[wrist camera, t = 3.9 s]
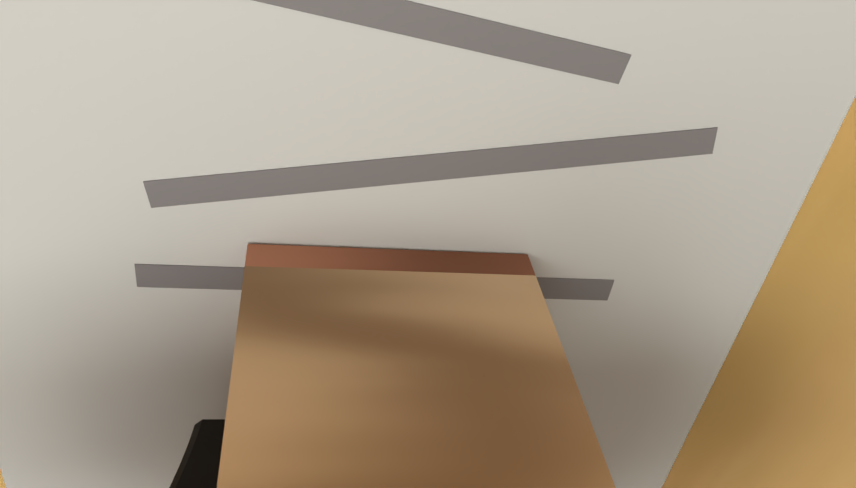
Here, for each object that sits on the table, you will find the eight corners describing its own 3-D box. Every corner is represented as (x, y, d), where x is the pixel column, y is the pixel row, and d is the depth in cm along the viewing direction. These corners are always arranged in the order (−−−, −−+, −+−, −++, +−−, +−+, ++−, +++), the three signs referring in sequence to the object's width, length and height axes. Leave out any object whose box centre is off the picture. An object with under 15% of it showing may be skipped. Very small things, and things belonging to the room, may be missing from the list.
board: (71, 632, 17) (61, 670, 16) (-215, -410, 7) (-274, -422, 6) (576, 609, 19) (585, 642, 18) (956, -217, 9) (1008, -210, 8)
